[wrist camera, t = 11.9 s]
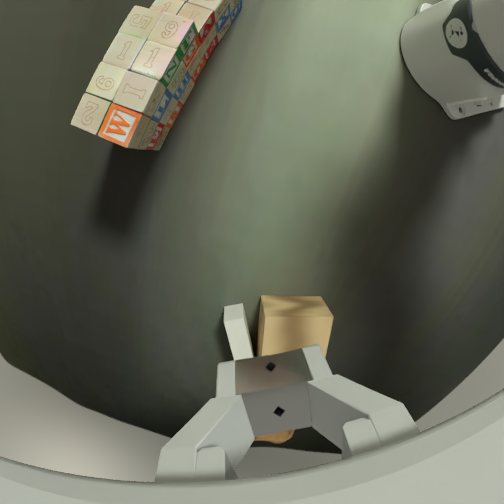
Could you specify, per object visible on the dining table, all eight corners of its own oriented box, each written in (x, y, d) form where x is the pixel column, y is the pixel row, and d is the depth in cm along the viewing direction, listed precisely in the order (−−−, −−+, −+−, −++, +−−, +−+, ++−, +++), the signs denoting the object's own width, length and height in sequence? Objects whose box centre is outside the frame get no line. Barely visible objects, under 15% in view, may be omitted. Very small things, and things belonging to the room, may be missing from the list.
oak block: (320, 295, 41) (333, 316, 35) (310, 357, 44) (319, 382, 38) (260, 294, 40) (265, 316, 34) (255, 357, 43) (258, 384, 37)
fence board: (242, 303, 40) (243, 317, 36) (260, 378, 44) (262, 396, 40) (224, 306, 40) (223, 321, 36) (244, 381, 44) (245, 399, 40)
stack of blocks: (199, -7, 28) (188, -61, 17) (243, 8, 29) (247, -46, 18) (116, 133, 33) (67, 124, 21) (159, 152, 34) (125, 149, 23)
